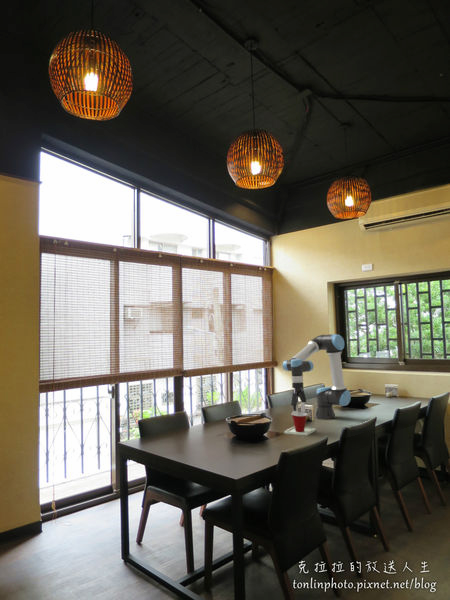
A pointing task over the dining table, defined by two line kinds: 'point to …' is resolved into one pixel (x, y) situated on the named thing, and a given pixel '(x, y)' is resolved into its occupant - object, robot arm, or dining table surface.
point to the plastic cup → (299, 421)
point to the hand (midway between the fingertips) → (299, 413)
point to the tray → (306, 432)
